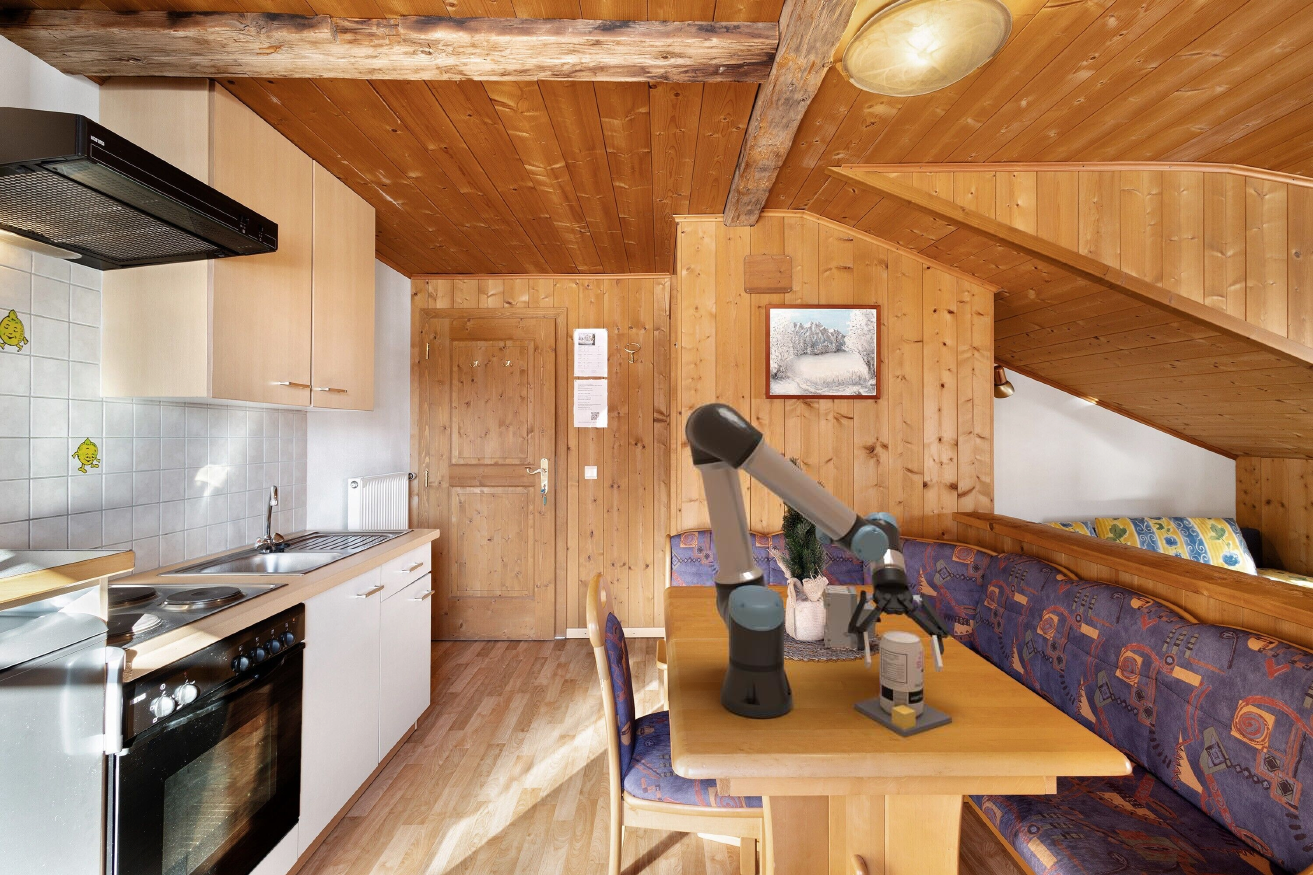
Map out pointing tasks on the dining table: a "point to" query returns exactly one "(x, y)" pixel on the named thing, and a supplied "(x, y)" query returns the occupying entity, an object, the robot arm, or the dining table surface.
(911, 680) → the supplement can
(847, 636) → the circuit breaker
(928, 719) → the pad
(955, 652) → the dining table surface
